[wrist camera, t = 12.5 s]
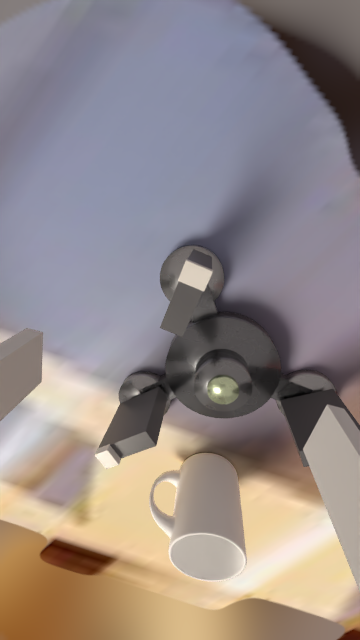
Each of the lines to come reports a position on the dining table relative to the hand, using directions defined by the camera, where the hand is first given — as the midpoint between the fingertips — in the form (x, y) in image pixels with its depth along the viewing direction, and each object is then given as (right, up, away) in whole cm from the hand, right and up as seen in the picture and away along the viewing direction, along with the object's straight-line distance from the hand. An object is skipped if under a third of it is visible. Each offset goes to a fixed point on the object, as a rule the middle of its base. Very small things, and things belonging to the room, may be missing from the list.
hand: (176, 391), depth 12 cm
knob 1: (-5, -7, +22) cm, 23 cm away
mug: (+3, -19, +27) cm, 33 cm away
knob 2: (+1, +8, +16) cm, 17 cm away
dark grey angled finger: (+15, -6, +19) cm, 25 cm away
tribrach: (+7, -3, +20) cm, 22 cm away
